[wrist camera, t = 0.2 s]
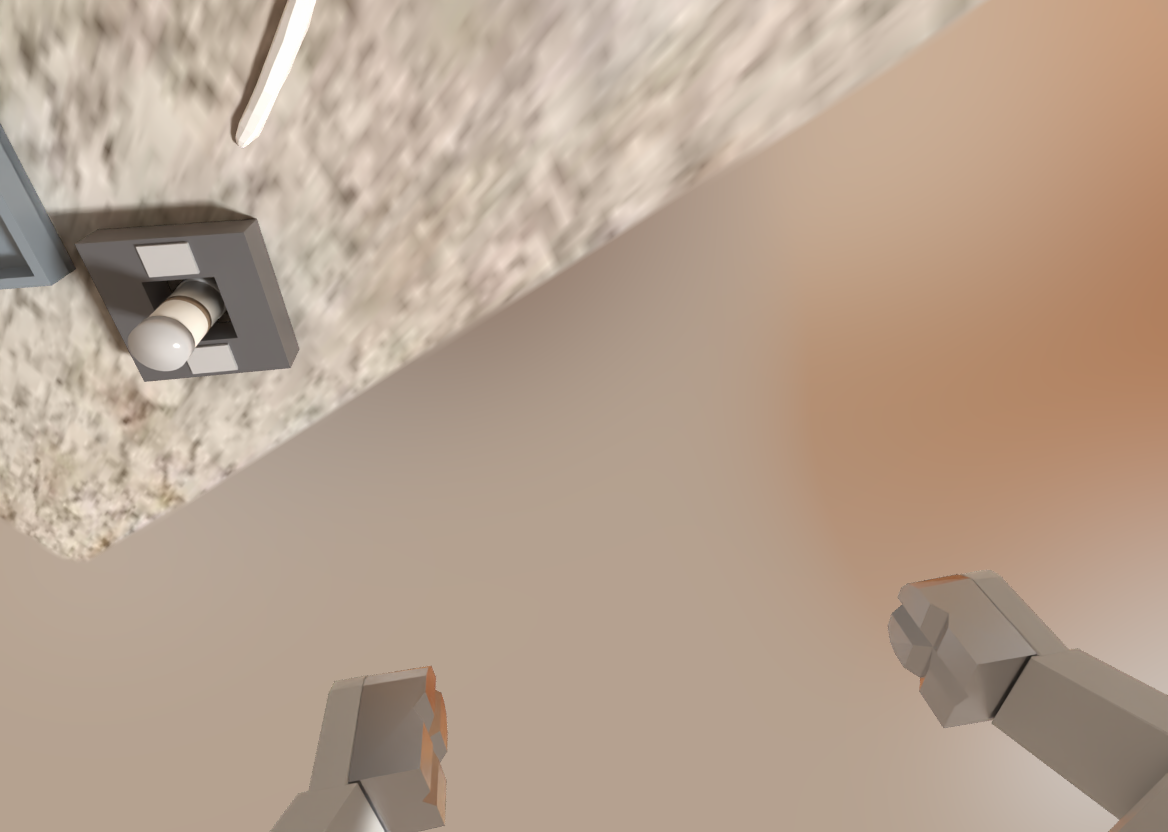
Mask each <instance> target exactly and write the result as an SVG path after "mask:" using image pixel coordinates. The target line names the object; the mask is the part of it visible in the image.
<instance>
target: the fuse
mask: <svg viewBox="0 0 1168 832" xmlns="http://www.w3.org/2000/svg"><path fill="white" fill-rule="evenodd" d="M226 310H227V309H226V306H225V303H224V301H223V298H222V296H221V293H220V291H219V288H218V285H217V283H216V280H215V278H214V277H205V278H192V279H184V280H183V281H182V282H181V283H180V284H179V285H178V286H177V288H176V290H175V291H174V292H173V293H172V294H171V295H170V296H169V297H168V298H167V299H166V300H165V301H164V302H163V303H162V304H161V305H160V306H159V307H158V308H157V309H156V310H155V311H154V312H153V313H152V314H151V315H150V316H149V317H148V318H146V319H144V320H143V321H142V322H141V323H140V324H139V325H138V326H137V327H136V328H134V329H133V330H132V331H131V333H130V334H129V337H128V347H129V350H130V352H131V354H132V355H133V356H134V357H135V358H136V360H138V361H139V362H140V363H141V364H143V365H145V366H146V367H149V368H151V369H154V370H158V371H173V370H176V369H178V368H180V367H182V366H183V365H184V364H185V362H186V361H187V360H188V358H189V357H190V356H191V355H192V353H193V352H194V349H195V347H196V346H197V345H198V343H199V342H200V341H201V339H202V338H203V337H204V336H205V335H206V334H207V332H208V331H209V330H210V328H211V327H212V326H213V324H214V323H215V322H216V320H217V319H219V318H220V317H221V316H222V315H223V314H224V312H225V311H226Z"/></svg>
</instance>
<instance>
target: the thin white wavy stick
mask: <svg viewBox="0 0 1168 832" xmlns="http://www.w3.org/2000/svg"><path fill="white" fill-rule="evenodd" d="M315 3H316V0H287V3H286V6H285V8H284V11H283V14H282V17H281V19H280V22H279V25H278V28H277V30H276V33H275V36H274V39H273V41H272V44H271V47H270V49H269V52H268V55H267V58H266V60H265V63H264V65H263V68H262V71H261V73H260V76H259V79H258V81H257V84H256V86H255V89H254V91H253V93H252V96H251V98H250V100H249V102H248V104H247V106H246V109H245V111H244V113H243V115H242V117H241V119H240V121H239V124H238V128H237V132H236V136H235V137H236V143H237V145H238V146H239V147H240V148H245V147H246V146H247V145H249V144H250V143H251V142H252V141H253V140H255V139H256V138H257V137H258V136H260V133H261V131H262V129H263V127H264V125H265V122H266V120H267V118H268V116H269V114H270V111H271V109H272V107H273V104H274V102H275V100H276V97H277V95H278V93H279V91H280V89H281V87H282V85H283V83H284V82H285V80H286V78H287V76H288V74H289V72H290V70H291V68H292V65H293V62H294V60H295V57H296V55H297V52H298V50H299V48H300V46H301V44H302V41H303V39H304V37H305V35H306V33H307V31H308V28H309V25H310V21H311V17H312V13H313V9H314V5H315Z"/></svg>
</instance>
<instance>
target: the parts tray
mask: <svg viewBox="0 0 1168 832" xmlns="http://www.w3.org/2000/svg"><path fill="white" fill-rule="evenodd" d="M75 269H76V268H75V267H74V265H73V263H72V261H71V259H70V257H69V255H68V253H67V251H66V249H65V247H64V245H63V243H62V242H61V240H60V238H59V236H58V234H57V232H56V230H55V228H54V226H53V224H52V222H51V220H50V218H49V216H48V215H47V213H46V211H45V209H44V207H43V205H42V203H41V201H40V199H39V197H38V195H37V193H36V191H35V189H34V188H33V186H32V184H31V182H30V180H29V178H28V176H27V174H26V172H25V170H24V168H23V166H22V164H21V163H20V161H19V159H18V157H17V155H16V153H15V151H14V149H13V147H12V145H11V143H10V141H9V139H8V137H7V136H6V134H5V132H4V130H3V128H2V126H1V124H0V289H12V288H25V287H38V286H51V285H53V284H55V283H56V282H58V281H59V280H60V279H62V278H63V277H65V276H66V275H68V274H69V273H71V272H72V271H74V270H75Z"/></svg>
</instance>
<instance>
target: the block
mask: <svg viewBox="0 0 1168 832" xmlns="http://www.w3.org/2000/svg"><path fill="white" fill-rule="evenodd" d="M75 246H76V248H77V250H78V252H79V254H80V256H81V258H82V260H83V262H84V264H85V266H86V268H87V270H88V272H89V274H90V276H91V278H92V280H93V281H94V283H95V285H96V287H97V289H98V291H99V293H100V295H101V297H102V299H103V301H104V303H105V305H106V307H107V309H108V311H109V313H110V315H111V317H112V319H113V321H114V323H115V325H116V327H117V329H118V331H119V333H120V335H121V337H122V339H123V341H124V343H125V344H126V346H127V348H128V350H129V347H128V337H129V334H130V333H131V331H132V330H133V329H134V328H136V327H137V326H138V325H139V324H140V323H141V322H142V321H143V320H144V319H146V318H148V317H149V316H150V315H151V314H152V313H153V312H154V311H155V310H156V309H157V308H158V307H159V306H160V305H161V304H162V303H163V302H164V301H165V300H166V299H167V298H168V297H169V296H170V295H171V294H172V293H171V291H170V289H169V286H168V284H167V282H166V280H179V279H192V278H205V277H214V278H215V280H216V283H217V285H218V288H219V291H220V293H221V296H222V298H223V301H224V303H225V306H226V309H227V311H228V314H229V316H230V319H231V321H232V322H221V323H214V324H213V326H212V327H211V328H210V330H209V331H208V332H207V334H206V335H205V336H204V337H203V338H202V339H201V341H200V342H199V343H198V345H197V346H196V347H195V349H194V352H193V353H192V355H191V356H190V357H189V358H188V360H187V361H186V362H185V364H184V365H183V366H182V367H180V368H178V369H176V370H173V371H158V370H154V369H151V368H149V367H146V366H145V365H143V364H141V363H140V362H139V361H138V360H136V358H135V357H134V356H133V355H132V354H131V352H130V350H129V352H130V354H131V356H132V358H133V360H134V362H135V364H136V366H137V368H138V370H139V372H140V374H141V376H142V378H143V380H144V382H147V381H158V380H168V379H179V378H190V377H200V376H211V375H221V374H232V373H243V372H253V371H264V370H275V369H285V368H291V366H292V364H293V362H294V359H295V357H296V355H297V353H298V351H299V347H298V344H297V340H296V337H295V334H294V331H293V328H292V325H291V322H290V319H289V316H288V313H287V310H286V307H285V304H284V301H283V298H282V295H281V292H280V289H279V285H278V282H277V279H276V276H275V273H274V270H273V267H272V264H271V261H270V258H269V255H268V252H267V249H266V246H265V243H264V240H263V237H262V234H261V230H260V227H259V224H258V221H257V219H249V220H234V221H219V222H204V223H189V224H174V225H159V226H144V227H129V228H115V229H100V230H96V231H95V232H93V233H92V234H90V235H88V236H87V237H85V238H84V239H82V240H80V241H79V242H77V243H76V244H75Z"/></svg>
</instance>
